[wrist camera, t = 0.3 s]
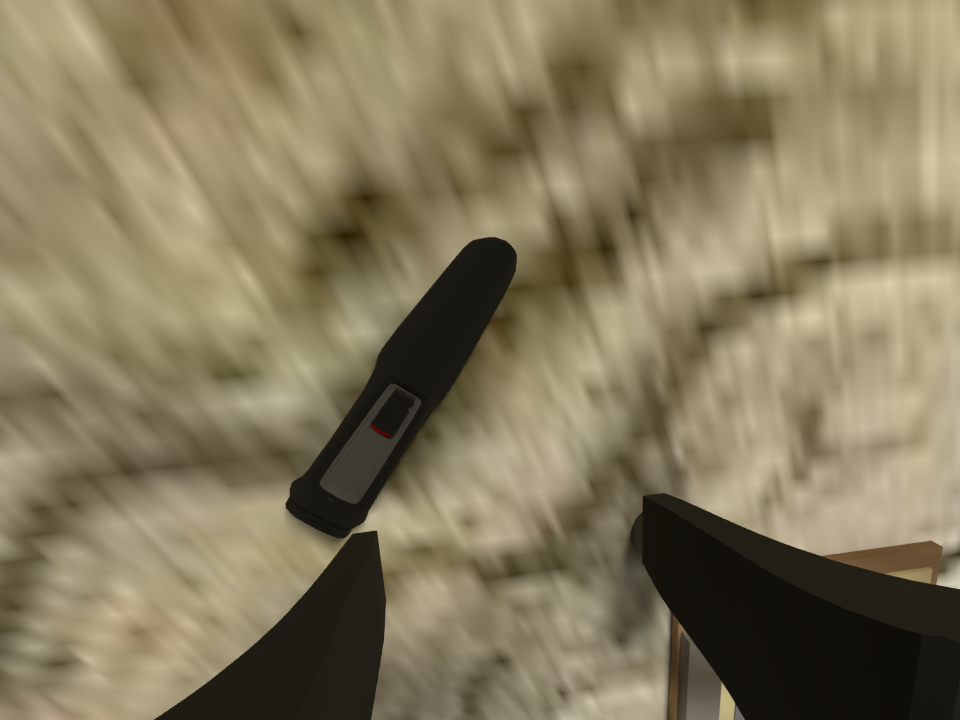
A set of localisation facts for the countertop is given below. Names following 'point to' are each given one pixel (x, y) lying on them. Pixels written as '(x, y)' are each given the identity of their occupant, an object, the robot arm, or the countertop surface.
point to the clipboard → (696, 687)
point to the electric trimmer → (404, 389)
